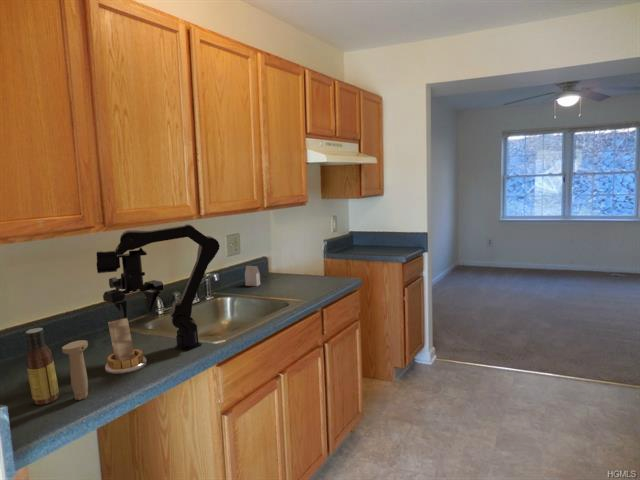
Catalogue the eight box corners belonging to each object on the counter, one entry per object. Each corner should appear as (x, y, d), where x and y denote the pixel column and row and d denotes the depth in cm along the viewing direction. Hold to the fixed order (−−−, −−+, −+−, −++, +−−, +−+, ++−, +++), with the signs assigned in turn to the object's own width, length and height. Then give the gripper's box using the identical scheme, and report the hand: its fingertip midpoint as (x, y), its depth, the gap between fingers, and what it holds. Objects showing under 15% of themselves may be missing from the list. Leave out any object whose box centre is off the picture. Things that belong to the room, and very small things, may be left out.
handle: (64, 402, 125) (57, 348, 123) (83, 391, 132) (76, 339, 129) (79, 404, 124) (72, 349, 122) (97, 393, 130) (91, 340, 128)
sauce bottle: (53, 392, 132) (44, 323, 129) (63, 398, 128) (54, 328, 125) (27, 402, 127) (17, 330, 124) (37, 409, 123) (26, 335, 120)
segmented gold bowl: (132, 355, 157) (131, 345, 156) (154, 362, 150) (153, 352, 149) (97, 368, 147) (96, 358, 146) (119, 377, 140) (118, 365, 139)
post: (130, 358, 151) (122, 318, 152) (135, 359, 148) (127, 318, 148) (115, 363, 148) (107, 322, 149) (120, 363, 145) (112, 321, 145)
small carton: (256, 286, 245) (255, 267, 244) (245, 285, 248) (244, 266, 246) (260, 284, 248) (259, 265, 247) (249, 283, 251) (247, 265, 250)
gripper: (143, 262, 165) (147, 306, 167) (91, 273, 150) (96, 320, 152) (163, 265, 159) (166, 310, 161) (110, 276, 144) (115, 326, 146)
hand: (137, 316), depth 155 cm, fingers open, 8 cm apart
